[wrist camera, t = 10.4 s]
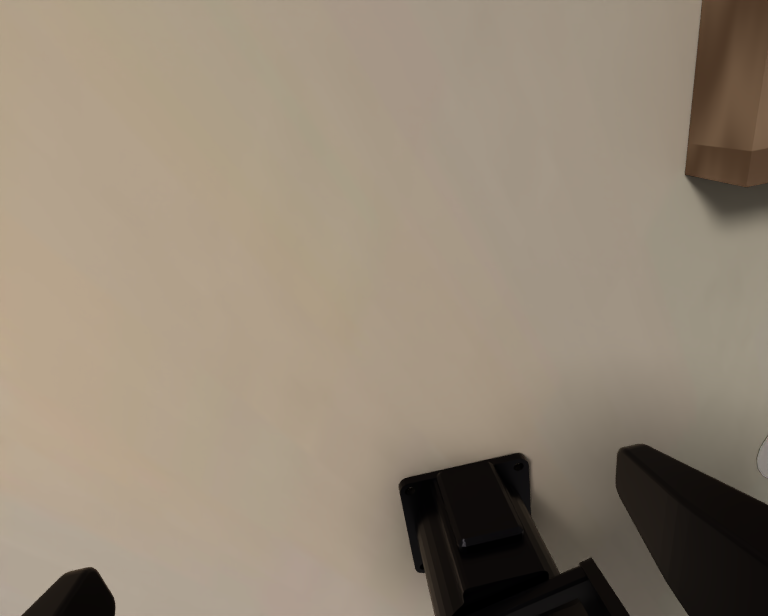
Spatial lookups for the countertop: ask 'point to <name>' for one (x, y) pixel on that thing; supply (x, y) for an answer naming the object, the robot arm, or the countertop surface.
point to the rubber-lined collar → (731, 94)
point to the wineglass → (763, 459)
